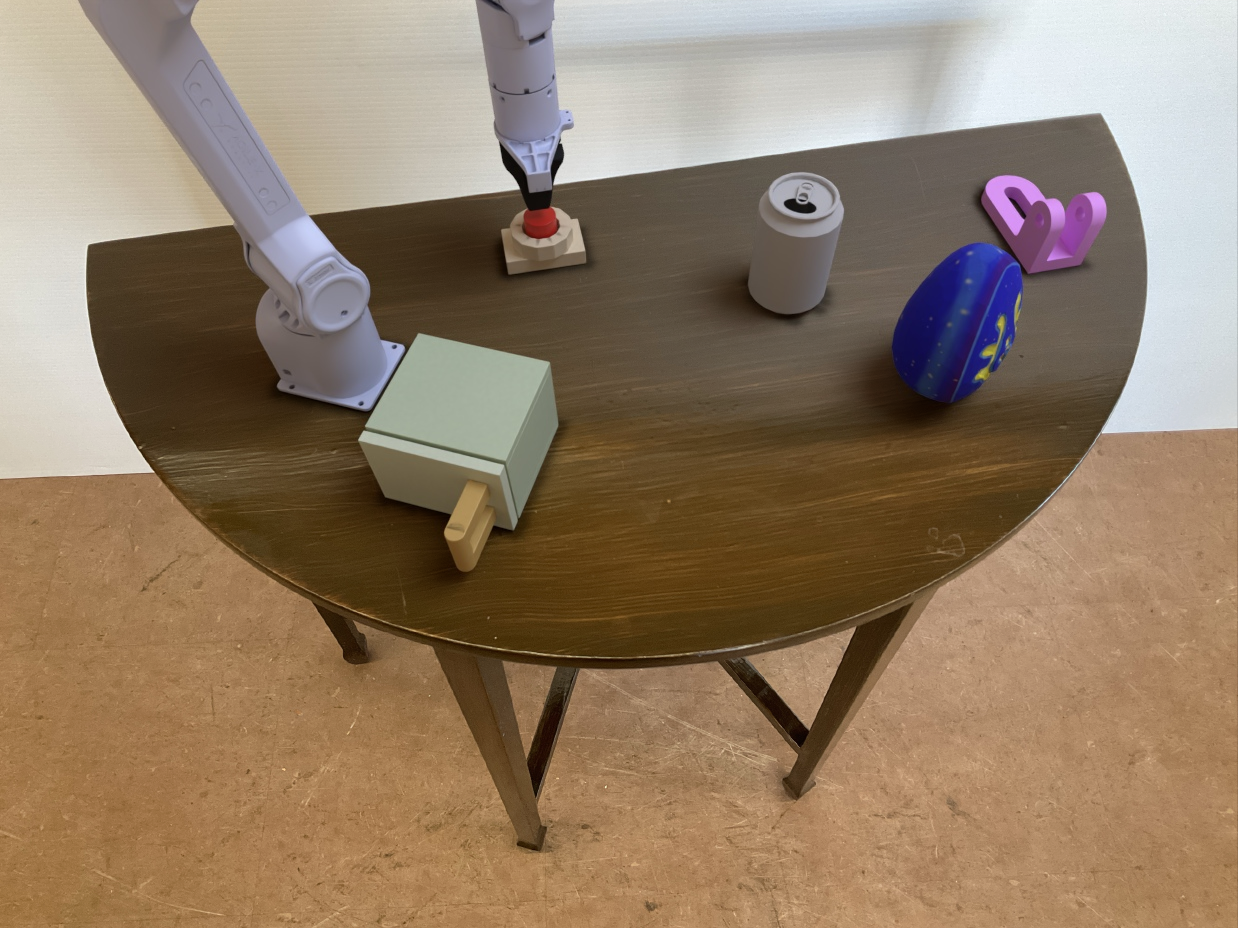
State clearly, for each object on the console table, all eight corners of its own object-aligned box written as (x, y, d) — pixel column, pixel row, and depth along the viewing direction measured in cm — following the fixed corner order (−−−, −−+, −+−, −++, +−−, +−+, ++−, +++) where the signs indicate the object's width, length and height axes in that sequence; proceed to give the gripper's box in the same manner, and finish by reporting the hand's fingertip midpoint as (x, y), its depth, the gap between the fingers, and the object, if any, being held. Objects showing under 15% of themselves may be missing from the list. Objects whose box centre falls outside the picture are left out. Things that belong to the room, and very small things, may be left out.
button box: (509, 278, 86) (504, 252, 83) (502, 238, 90) (497, 211, 87) (587, 267, 87) (585, 240, 84) (577, 227, 90) (575, 200, 87)
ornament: (952, 441, 74) (1015, 321, 61) (858, 390, 77) (900, 266, 65) (1007, 364, 79) (1076, 237, 66) (917, 319, 82) (966, 190, 69)
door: (489, 587, 67) (472, 536, 60) (356, 551, 69) (324, 497, 62) (518, 520, 70) (504, 464, 63) (390, 487, 72) (363, 430, 66)
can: (737, 308, 83) (750, 209, 73) (759, 258, 87) (774, 157, 77) (812, 328, 82) (836, 230, 72) (832, 276, 85) (857, 176, 75)
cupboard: (519, 519, 71) (505, 460, 63) (391, 486, 73) (364, 426, 66) (558, 425, 76) (550, 361, 69) (438, 397, 78) (418, 332, 71)
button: (527, 241, 85) (525, 228, 83) (523, 220, 86) (521, 206, 85) (559, 237, 85) (557, 223, 83) (554, 216, 87) (553, 202, 85)
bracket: (1080, 265, 85) (1112, 209, 80) (1028, 273, 85) (1056, 218, 79) (1021, 182, 93) (1046, 126, 87) (972, 190, 92) (994, 133, 86)
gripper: (582, 120, 68) (591, 249, 80) (556, 23, 76) (567, 153, 88) (494, 132, 68) (516, 261, 79) (477, 33, 76) (499, 163, 87)
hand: (538, 205), depth 83 cm, fingers closed
